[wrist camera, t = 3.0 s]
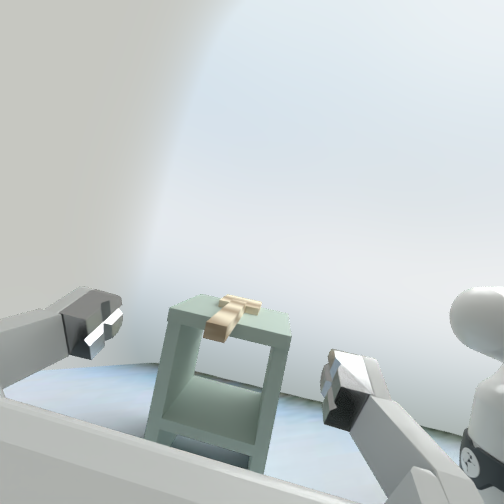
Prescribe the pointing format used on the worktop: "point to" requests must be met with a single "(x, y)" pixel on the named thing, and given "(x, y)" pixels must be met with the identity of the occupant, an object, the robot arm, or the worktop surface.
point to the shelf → (217, 384)
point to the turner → (229, 316)
